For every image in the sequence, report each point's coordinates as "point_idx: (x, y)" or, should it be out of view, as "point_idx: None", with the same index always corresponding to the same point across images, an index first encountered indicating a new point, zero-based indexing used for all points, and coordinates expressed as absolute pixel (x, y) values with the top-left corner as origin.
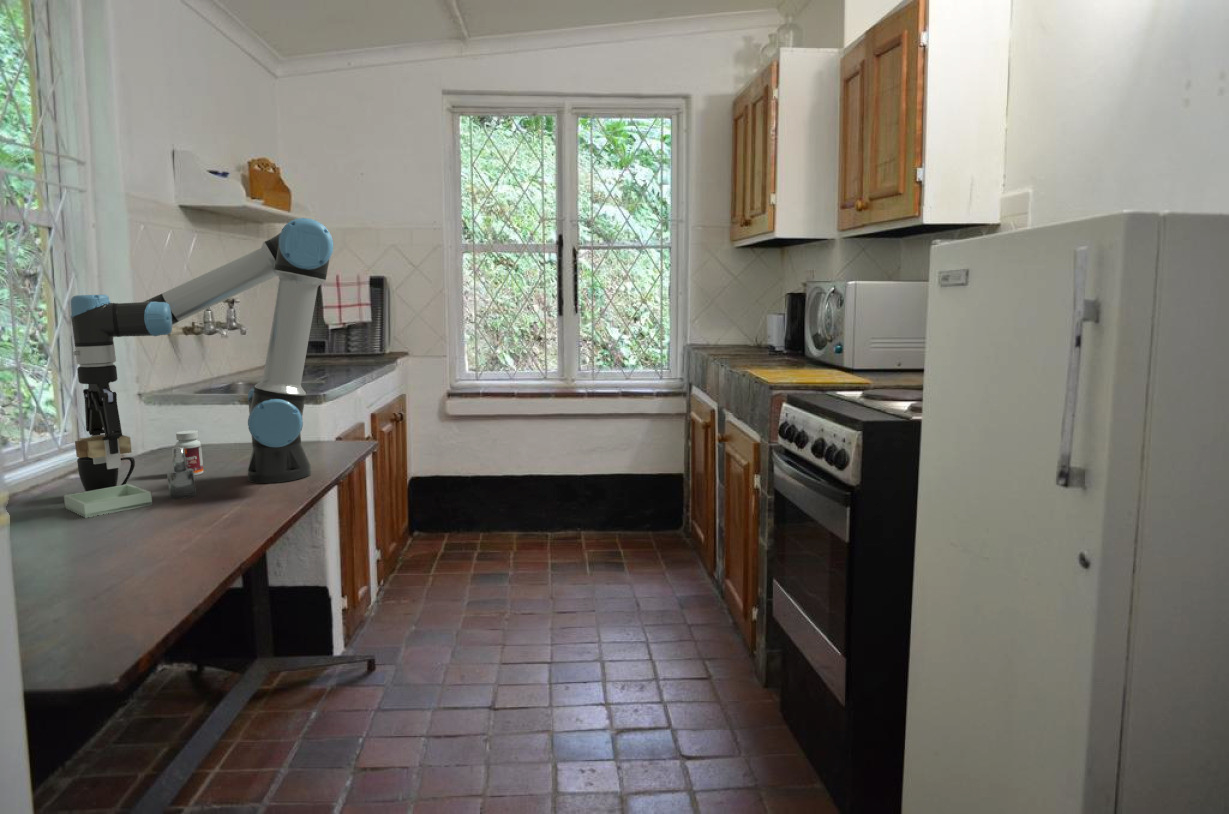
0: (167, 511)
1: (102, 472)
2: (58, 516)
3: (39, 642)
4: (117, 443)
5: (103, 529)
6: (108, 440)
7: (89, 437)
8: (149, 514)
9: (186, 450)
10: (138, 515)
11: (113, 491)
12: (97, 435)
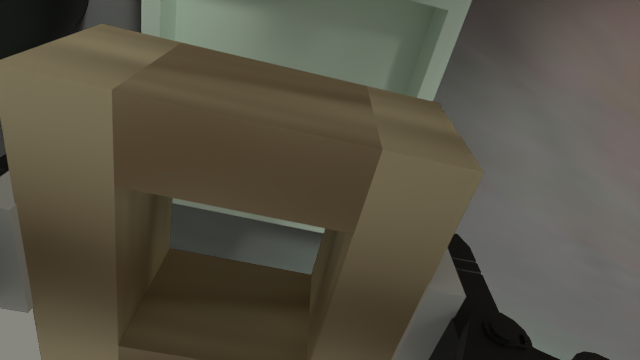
0: (624, 35)
1: (37, 28)
2: (258, 231)
3: None
4: (490, 296)
5: (557, 260)
6: (426, 354)
7: (51, 325)
8: (575, 98)
9: None
10: (539, 124)
11: (167, 8)
12: (19, 269)
